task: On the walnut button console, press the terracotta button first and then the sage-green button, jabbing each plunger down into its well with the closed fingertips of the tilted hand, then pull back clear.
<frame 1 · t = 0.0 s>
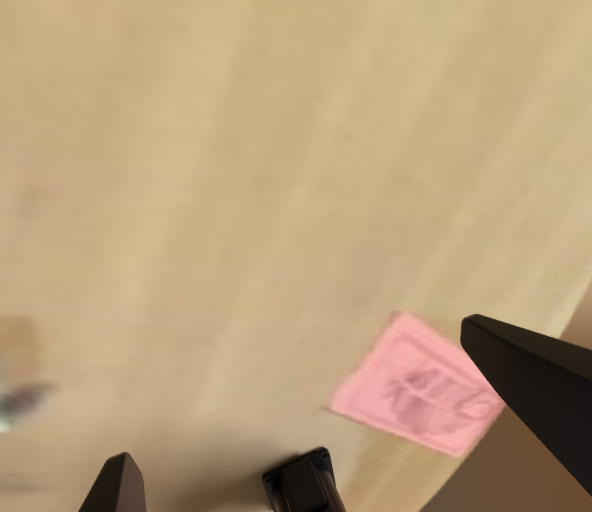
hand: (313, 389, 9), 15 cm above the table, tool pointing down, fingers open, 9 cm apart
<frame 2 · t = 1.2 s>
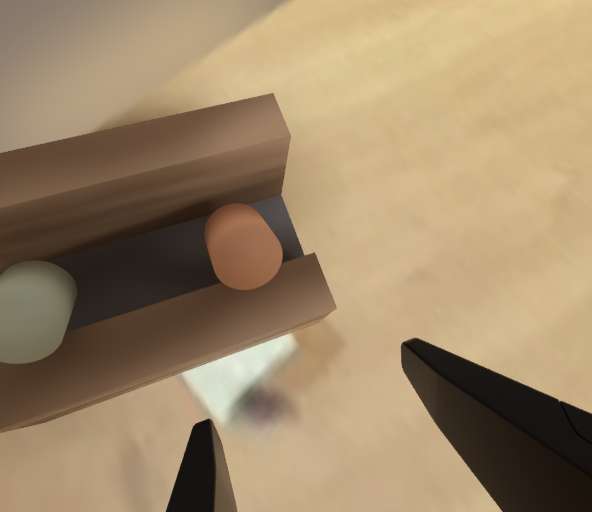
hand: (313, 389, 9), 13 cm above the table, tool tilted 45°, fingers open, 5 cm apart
console: (171, 296, 23), on the table
sage button: (28, 309, 15), point 7 cm above the table, slide at 0.0 cm
terracotta button: (241, 245, 17), point 7 cm above the table, slide at 0.0 cm
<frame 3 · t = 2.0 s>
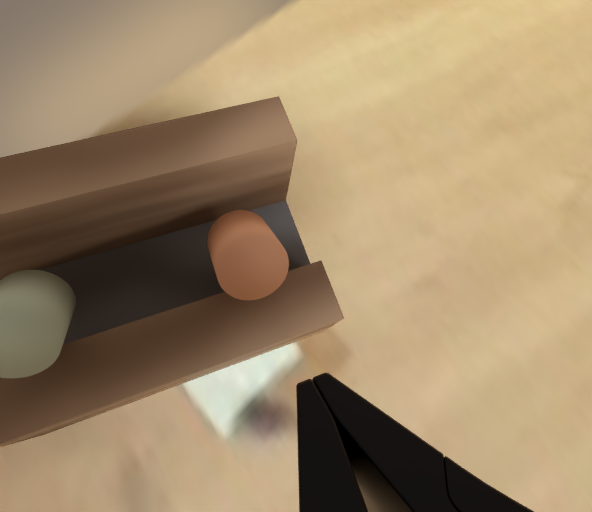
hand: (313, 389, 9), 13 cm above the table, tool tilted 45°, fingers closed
console: (172, 304, 22), on the table
sage button: (24, 321, 15), point 7 cm above the table, slide at 0.0 cm
terracotta button: (246, 253, 16), point 7 cm above the table, slide at 0.0 cm
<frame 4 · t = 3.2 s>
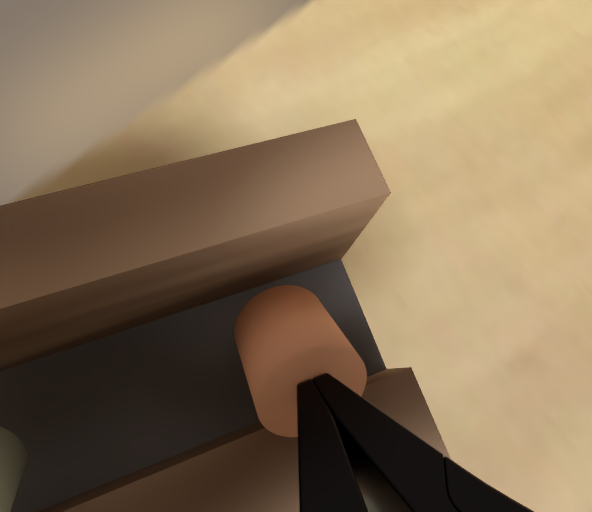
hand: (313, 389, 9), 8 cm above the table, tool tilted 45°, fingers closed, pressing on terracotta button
console: (180, 403, 16), on the table
terracotta button: (295, 355, 11), point 6 cm above the table, slide at 0.8 cm, touching gripper
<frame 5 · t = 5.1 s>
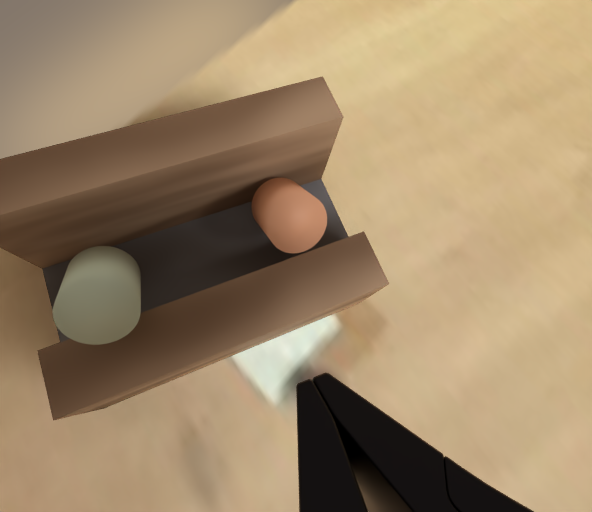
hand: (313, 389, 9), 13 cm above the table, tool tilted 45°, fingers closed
console: (216, 283, 23), on the table
sage button: (101, 293, 16), point 7 cm above the table, slide at 0.0 cm
terracotta button: (287, 214, 19), point 6 cm above the table, slide at 1.6 cm
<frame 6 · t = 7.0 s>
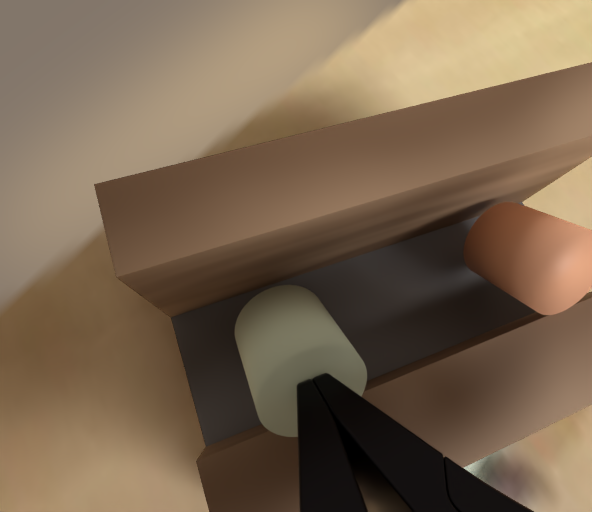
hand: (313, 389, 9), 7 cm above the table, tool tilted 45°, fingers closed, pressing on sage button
console: (371, 334, 18), on the table
sage button: (295, 355, 11), point 6 cm above the table, slide at 1.0 cm, touching gripper
terracotta button: (529, 255, 13), point 6 cm above the table, slide at 1.6 cm
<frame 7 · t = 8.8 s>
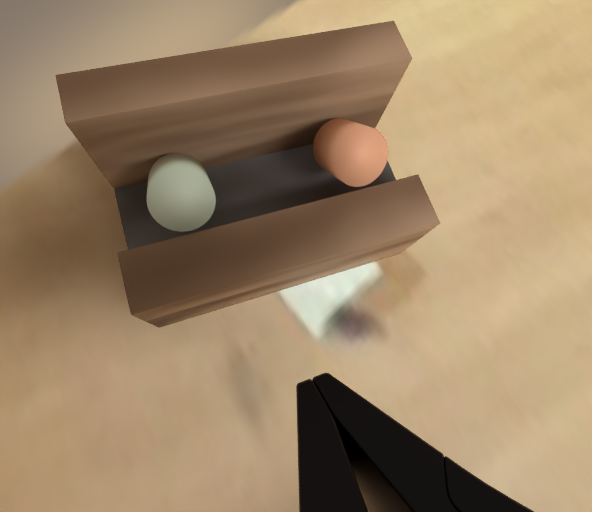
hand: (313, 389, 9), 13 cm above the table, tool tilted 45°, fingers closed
console: (266, 223, 24), on the table
sage button: (180, 191, 18), point 6 cm above the table, slide at 1.6 cm
terracotta button: (348, 151, 20), point 6 cm above the table, slide at 1.6 cm
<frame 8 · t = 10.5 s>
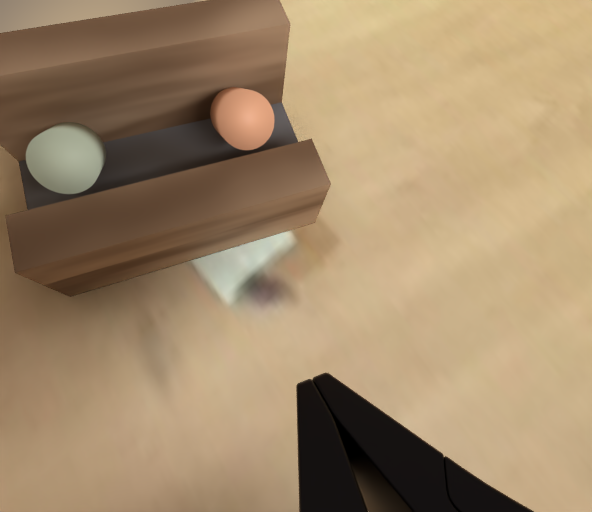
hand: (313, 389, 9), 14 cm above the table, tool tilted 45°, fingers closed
console: (182, 196, 25), on the table
sage button: (69, 156, 19), point 6 cm above the table, slide at 1.6 cm
terracotta button: (241, 117, 21), point 6 cm above the table, slide at 1.6 cm
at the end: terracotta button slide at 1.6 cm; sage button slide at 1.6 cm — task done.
